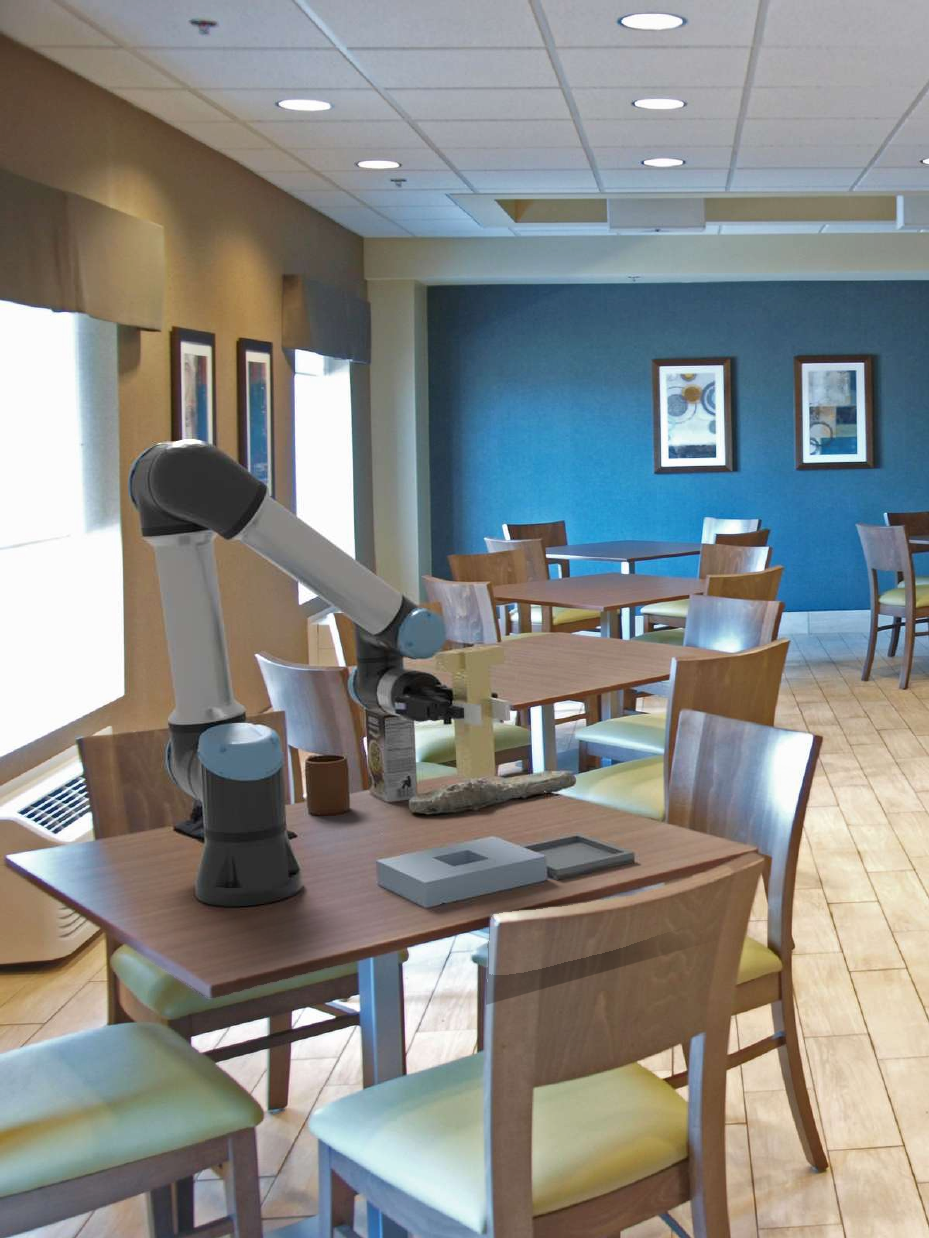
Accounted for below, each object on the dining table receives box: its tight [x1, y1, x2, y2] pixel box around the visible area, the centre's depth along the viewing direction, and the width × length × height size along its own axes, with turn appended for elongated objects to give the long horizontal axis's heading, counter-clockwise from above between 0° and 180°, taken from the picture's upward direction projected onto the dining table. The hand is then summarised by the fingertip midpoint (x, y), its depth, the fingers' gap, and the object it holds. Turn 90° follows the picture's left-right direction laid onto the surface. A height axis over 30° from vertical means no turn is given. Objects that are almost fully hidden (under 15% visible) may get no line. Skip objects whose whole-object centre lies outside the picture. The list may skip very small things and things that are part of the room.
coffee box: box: [364, 707, 418, 803], centre depth 251 cm, size 9×6×16 cm
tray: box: [520, 833, 636, 881], centre depth 205 cm, size 14×14×2 cm
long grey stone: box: [408, 770, 577, 816], centre depth 246 cm, size 35×5×10 cm
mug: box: [304, 754, 351, 816], centre depth 244 cm, size 12×8×9 cm, turn 28°
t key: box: [434, 644, 506, 780], centre depth 196 cm, size 10×4×18 cm, turn 121°
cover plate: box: [375, 835, 548, 909], centre depth 197 cm, size 20×14×4 cm
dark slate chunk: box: [172, 799, 298, 840], centre depth 231 cm, size 15×22×5 cm
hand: (493, 713), depth 191 cm, fingers closed on t key, 4 cm apart
